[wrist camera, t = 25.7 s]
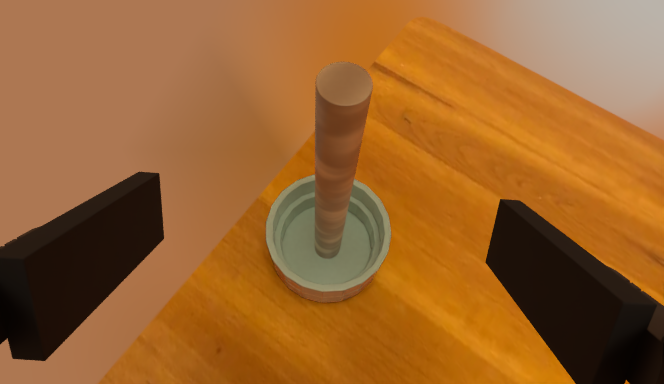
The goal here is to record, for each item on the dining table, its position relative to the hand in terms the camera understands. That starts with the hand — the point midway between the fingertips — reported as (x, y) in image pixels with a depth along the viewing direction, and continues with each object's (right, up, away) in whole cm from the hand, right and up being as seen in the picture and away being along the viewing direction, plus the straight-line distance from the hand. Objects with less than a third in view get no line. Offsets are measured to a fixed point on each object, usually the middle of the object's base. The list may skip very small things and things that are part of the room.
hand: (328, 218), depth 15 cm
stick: (0, -4, +24) cm, 24 cm away
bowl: (0, -5, +25) cm, 25 cm away
